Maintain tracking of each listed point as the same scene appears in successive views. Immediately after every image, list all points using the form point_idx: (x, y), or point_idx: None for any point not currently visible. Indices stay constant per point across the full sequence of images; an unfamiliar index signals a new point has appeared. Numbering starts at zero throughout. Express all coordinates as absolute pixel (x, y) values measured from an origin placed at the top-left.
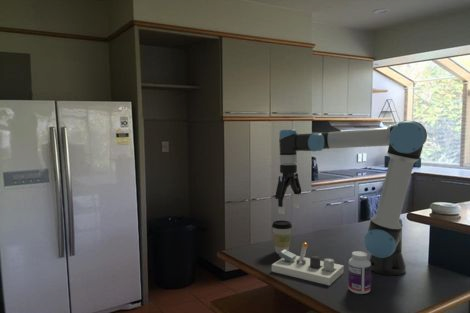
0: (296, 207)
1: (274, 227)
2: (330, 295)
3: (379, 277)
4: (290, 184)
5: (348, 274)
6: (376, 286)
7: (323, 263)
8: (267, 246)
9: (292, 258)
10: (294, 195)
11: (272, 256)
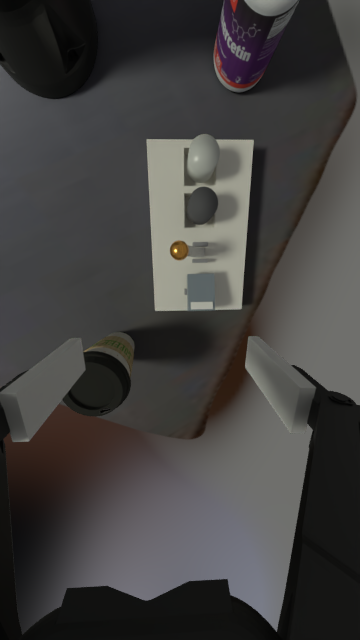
0: (80, 351)
1: (128, 392)
2: (296, 125)
3: (123, 33)
4: (12, 605)
5: (264, 55)
6: (190, 21)
7: (165, 200)
8: None
9: (208, 274)
10: (33, 418)
11: (156, 349)
